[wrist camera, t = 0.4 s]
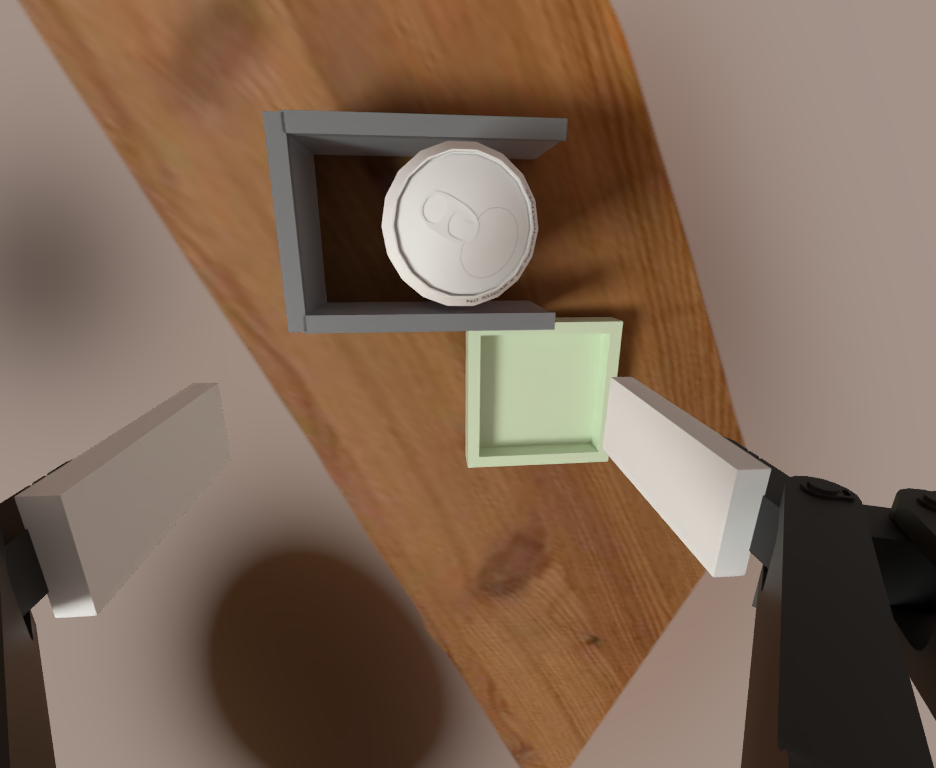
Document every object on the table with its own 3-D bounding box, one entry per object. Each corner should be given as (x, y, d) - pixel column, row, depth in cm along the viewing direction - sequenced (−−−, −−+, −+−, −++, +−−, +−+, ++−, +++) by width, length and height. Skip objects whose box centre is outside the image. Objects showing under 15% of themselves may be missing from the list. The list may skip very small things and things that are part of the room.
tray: (465, 318, 38) (468, 323, 36) (611, 316, 40) (623, 321, 37) (465, 455, 42) (468, 467, 40) (598, 449, 44) (607, 461, 41)
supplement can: (516, 213, 36) (576, 195, 22) (464, 302, 38) (489, 338, 24) (428, 155, 34) (432, 94, 20) (378, 251, 36) (350, 258, 22)
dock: (296, 137, 33) (262, 109, 26) (537, 143, 35) (567, 118, 28) (314, 315, 37) (288, 333, 30) (529, 313, 39) (554, 329, 32)
